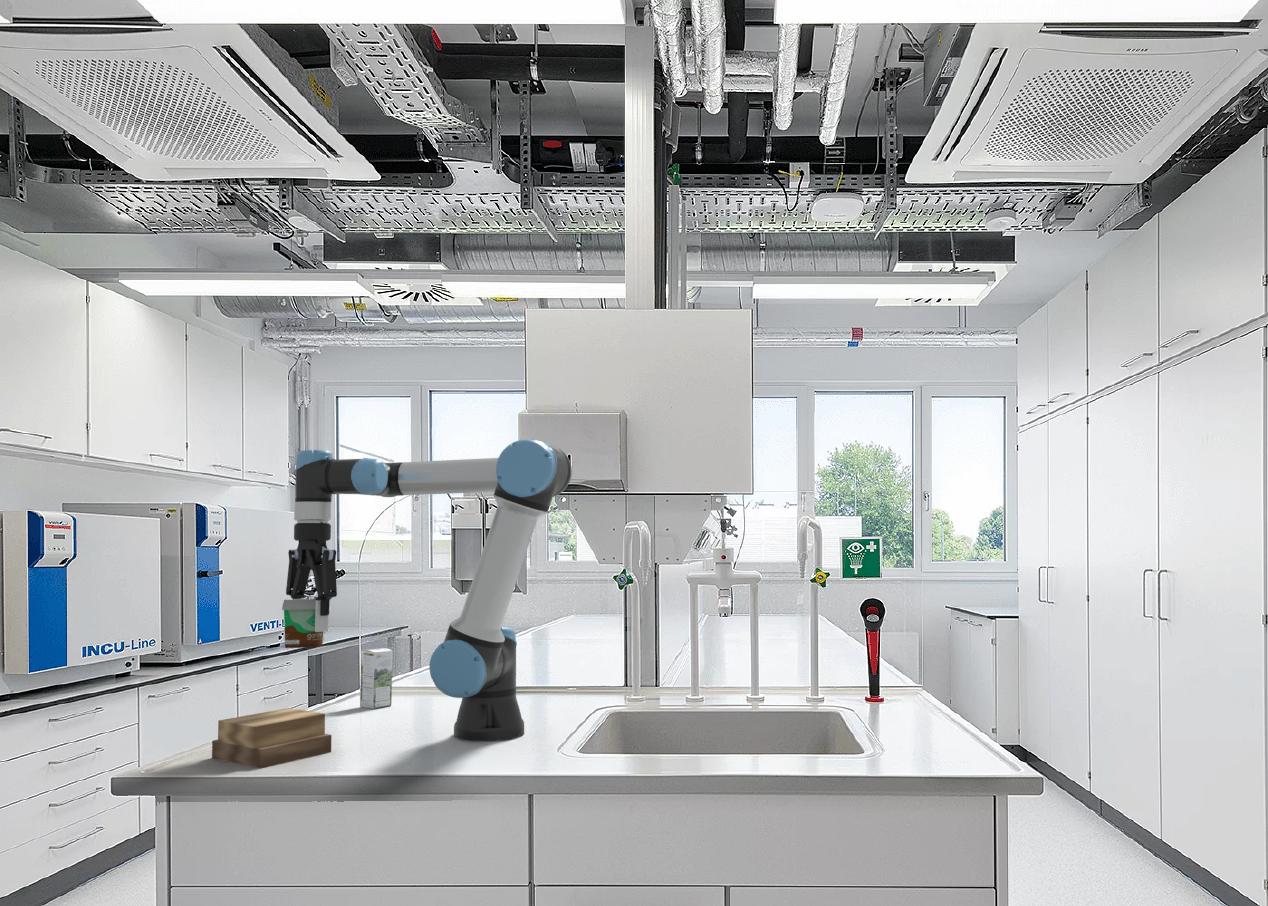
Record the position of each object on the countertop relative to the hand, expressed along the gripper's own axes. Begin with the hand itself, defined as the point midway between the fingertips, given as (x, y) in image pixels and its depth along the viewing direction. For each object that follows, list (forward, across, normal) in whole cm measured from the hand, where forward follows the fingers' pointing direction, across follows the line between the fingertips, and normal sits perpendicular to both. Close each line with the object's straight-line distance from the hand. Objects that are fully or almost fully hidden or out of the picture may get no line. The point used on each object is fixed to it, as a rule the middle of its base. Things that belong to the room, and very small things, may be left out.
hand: (310, 630), depth 208 cm
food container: (+3, 0, 0) cm, 4 cm away
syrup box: (+24, +24, -37) cm, 50 cm away
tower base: (+24, -4, +11) cm, 27 cm away
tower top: (+20, -4, +11) cm, 23 cm away
